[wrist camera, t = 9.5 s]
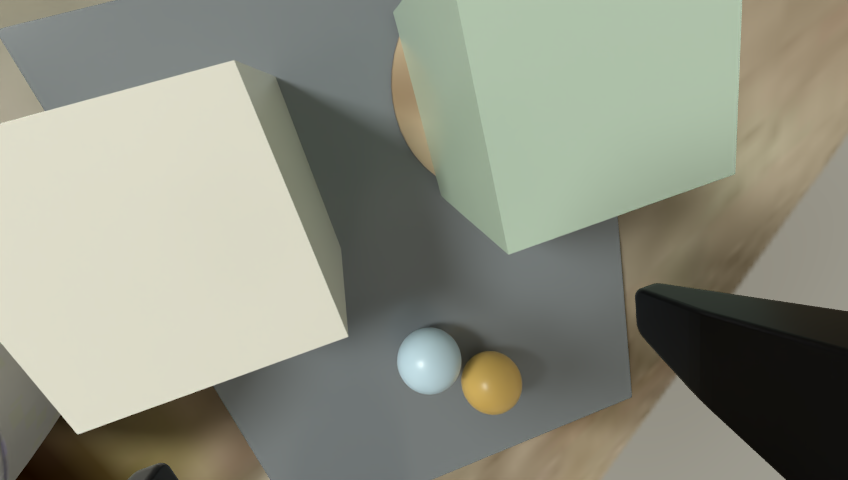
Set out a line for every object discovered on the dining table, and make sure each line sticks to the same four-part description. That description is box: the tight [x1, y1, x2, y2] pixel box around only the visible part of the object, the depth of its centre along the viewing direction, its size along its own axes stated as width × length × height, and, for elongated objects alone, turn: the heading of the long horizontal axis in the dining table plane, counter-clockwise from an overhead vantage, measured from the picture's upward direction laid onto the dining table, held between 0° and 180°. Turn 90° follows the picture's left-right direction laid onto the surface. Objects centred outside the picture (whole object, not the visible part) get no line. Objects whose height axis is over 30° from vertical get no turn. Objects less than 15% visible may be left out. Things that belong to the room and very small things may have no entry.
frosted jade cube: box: [393, 0, 742, 255], centre depth 13 cm, size 7×7×7 cm
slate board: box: [0, 0, 632, 480], centre depth 19 cm, size 26×21×1 cm
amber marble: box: [461, 351, 522, 415], centre depth 20 cm, size 3×3×3 cm
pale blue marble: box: [397, 327, 461, 395], centre depth 19 cm, size 3×3×3 cm
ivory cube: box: [0, 60, 348, 435], centre depth 12 cm, size 7×7×7 cm
